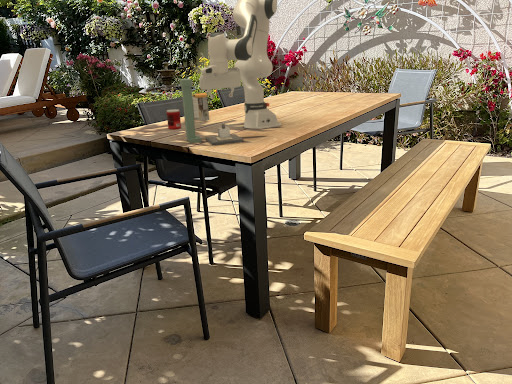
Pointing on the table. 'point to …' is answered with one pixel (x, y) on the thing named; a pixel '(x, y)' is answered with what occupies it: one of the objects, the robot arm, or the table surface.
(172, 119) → the canned food
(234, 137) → the plate
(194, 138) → the frame
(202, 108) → the coffee box
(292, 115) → the table surface
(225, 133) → the housing
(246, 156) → the table surface
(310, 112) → the table surface
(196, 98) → the ram
